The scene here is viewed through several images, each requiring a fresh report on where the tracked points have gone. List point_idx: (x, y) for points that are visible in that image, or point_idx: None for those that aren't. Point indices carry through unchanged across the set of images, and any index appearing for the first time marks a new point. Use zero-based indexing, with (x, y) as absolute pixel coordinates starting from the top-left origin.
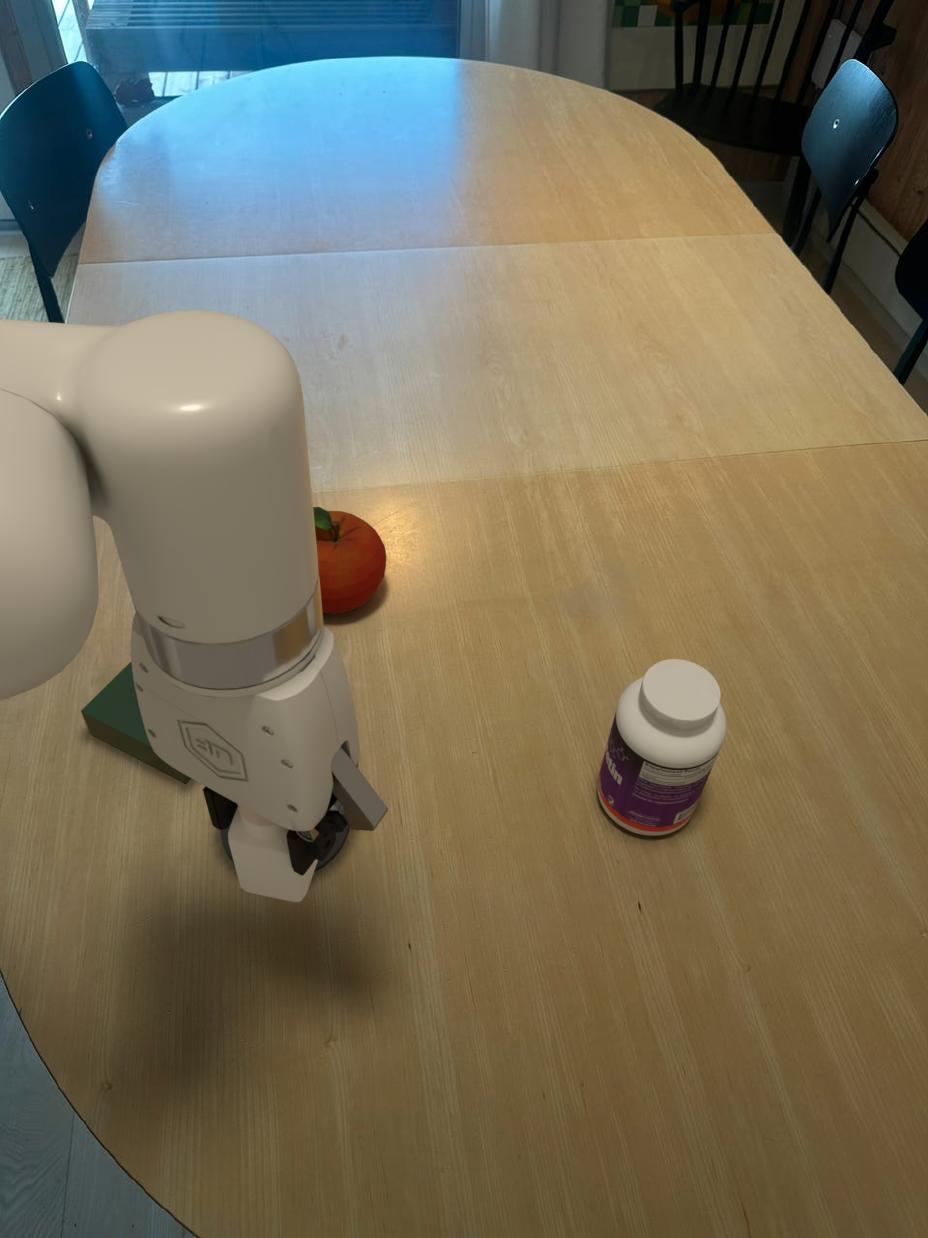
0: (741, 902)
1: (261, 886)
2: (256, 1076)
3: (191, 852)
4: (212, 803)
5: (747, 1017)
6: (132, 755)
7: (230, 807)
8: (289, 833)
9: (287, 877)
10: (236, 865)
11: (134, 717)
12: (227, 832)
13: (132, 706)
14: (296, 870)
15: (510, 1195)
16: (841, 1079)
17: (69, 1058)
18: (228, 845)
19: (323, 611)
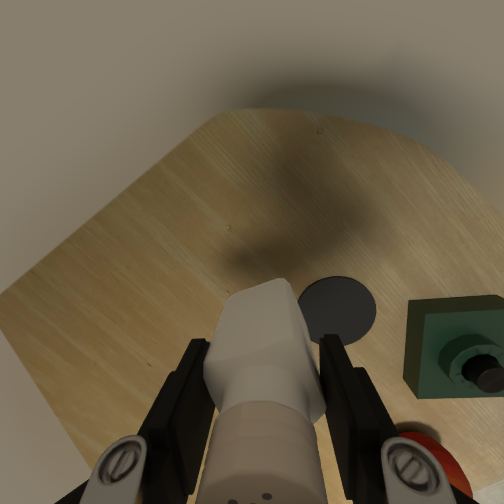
0: (115, 388)
1: (259, 292)
2: (249, 189)
3: (373, 268)
4: (347, 394)
5: (82, 344)
6: (456, 297)
7: (327, 378)
8: (172, 428)
9: (224, 320)
10: (284, 302)
11: (479, 323)
12: (361, 289)
13: (487, 329)
14: (195, 344)
15: (111, 220)
16: (39, 341)
17: (352, 128)
18: (355, 283)
19: (406, 435)
